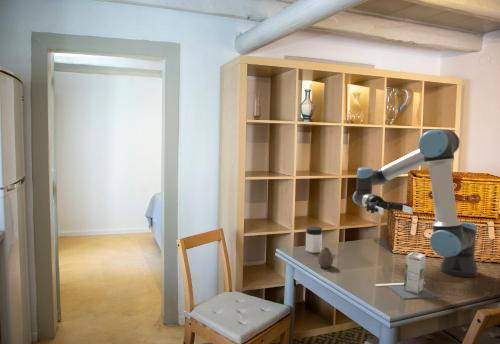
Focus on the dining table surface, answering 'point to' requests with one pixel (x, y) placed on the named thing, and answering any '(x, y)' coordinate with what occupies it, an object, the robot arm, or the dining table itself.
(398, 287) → the mat
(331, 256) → the vase
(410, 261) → the syrup box
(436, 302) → the dining table surface
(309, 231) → the jar
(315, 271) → the dining table surface
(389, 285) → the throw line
